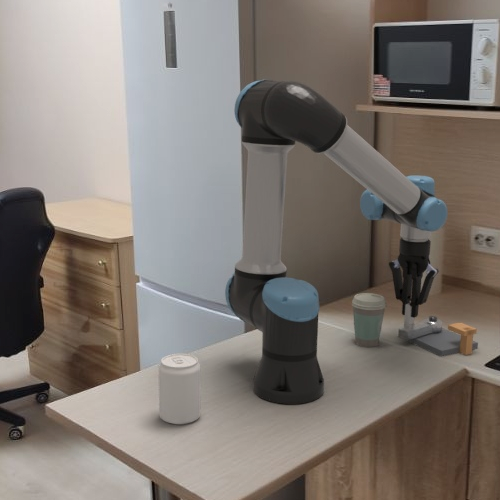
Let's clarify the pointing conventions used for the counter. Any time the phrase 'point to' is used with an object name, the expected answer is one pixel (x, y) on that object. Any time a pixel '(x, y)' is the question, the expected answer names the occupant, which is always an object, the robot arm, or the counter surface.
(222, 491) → the counter surface
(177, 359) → the beverage can
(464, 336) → the block
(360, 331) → the coffee cup
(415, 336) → the link
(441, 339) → the board
